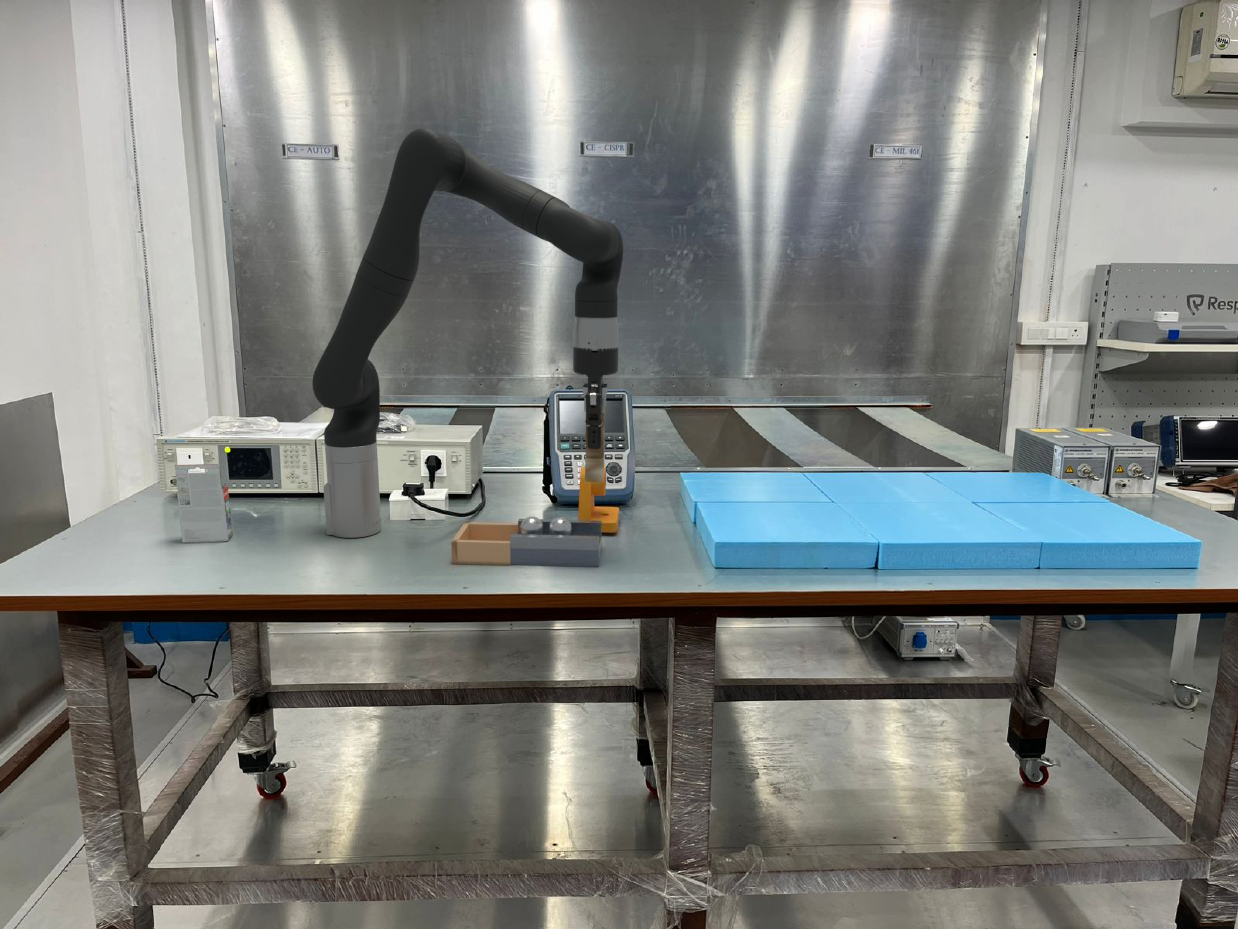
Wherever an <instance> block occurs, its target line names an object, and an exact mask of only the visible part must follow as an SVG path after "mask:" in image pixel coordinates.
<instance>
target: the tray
mask: <svg viewBox="0 0 1238 929" xmlns="http://www.w3.org/2000/svg"><path fill="white" fill-rule="evenodd" d="M517 533H518V522H517V523H516V522H515V523H510V522H506V523H505V522H471V521H468V522H466V521H465V522H464V523H463V524H462V526H461V527H460V528H459V529H458V531H457V532H456V534H455V535H454V537H453V538H452V540H451V541H450V542H451V543H450V544H451V564H452V565H476V566H477V565H479V566H480V565H481V566H483V565H484V566H486V565H487V566H512V565H511V552H510V536H511V534H517Z"/></svg>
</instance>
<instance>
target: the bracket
mask: <svg viewBox="0 0 1238 929" xmlns="http://www.w3.org/2000/svg"><path fill="white" fill-rule="evenodd" d="M606 486H607V467H604V478H603V482H585V466H584V467H583V466H581V467H580V474H579V491H578V492H579V493H578V494H579V495H578V518H577V520H600V521H602V533H610V534H611V533H612V534H613V533H618V529H619V522H620V521H619V519H620V508H619V507H617V506H595V496H601V497H602V496H606V489H607V488H606Z"/></svg>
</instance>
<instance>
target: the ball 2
mask: <svg viewBox="0 0 1238 929" xmlns="http://www.w3.org/2000/svg"><path fill="white" fill-rule="evenodd" d="M569 520H570V519H567V518H566V517H563V516H562V517H561V516H559V517H556V518H553V520H552V521H551V523H550V525H549V532H550V534H551V535H570V534H571V531H572V526H571V523H570V522H569Z"/></svg>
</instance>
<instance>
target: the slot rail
mask: <svg viewBox="0 0 1238 929" xmlns="http://www.w3.org/2000/svg"><path fill="white" fill-rule="evenodd" d="M524 519H525V518H519V519H518V520H517V523H518V533H517V534H511V536H510V552H511V565H510V566H540V567H541V566H542V567H543V566H545V567H546V566H548V567H550V566H551V567H579V568H580V567H585V568H587V567H588V568H590V567H591V568H599V566H600V559H601V552H602V540H603V539H602V538H603V537H602V535H603V534H602V533H603V532H602V521H600V520H578V519H568V520H569V522H570V523H571V526H572V531H571V534H570V535H551V534H550V532H549V525H550V523H551V521H552V520H553V519H554V518H553V519H551V518H549V519H545V518H544V519H543V518H539V519H540V520H541V522H542V523H543V532H542V534H541V535H526V534H522V533H521V529H520V527H521V523H522V522H523V520H524Z"/></svg>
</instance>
